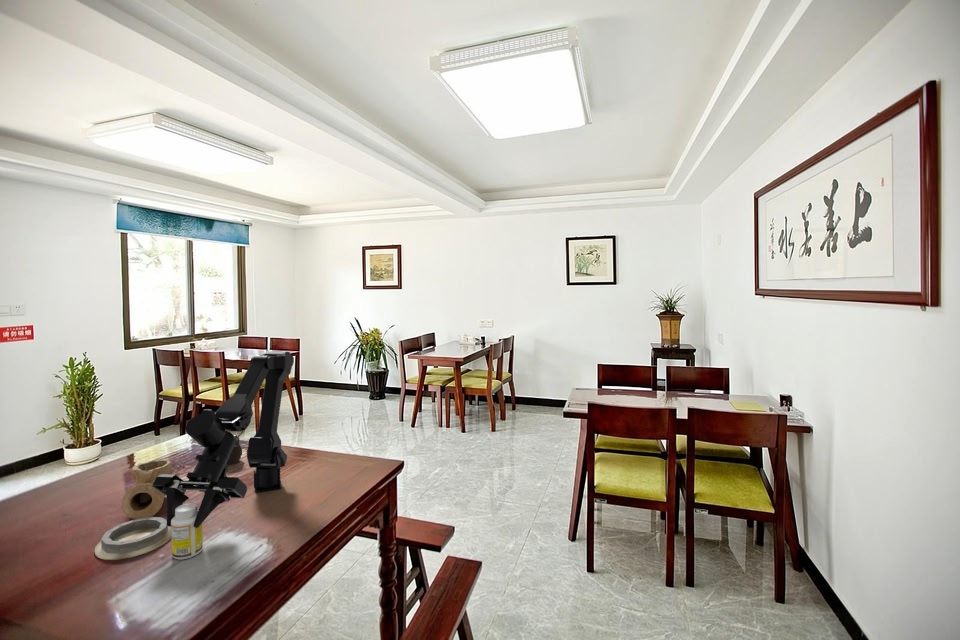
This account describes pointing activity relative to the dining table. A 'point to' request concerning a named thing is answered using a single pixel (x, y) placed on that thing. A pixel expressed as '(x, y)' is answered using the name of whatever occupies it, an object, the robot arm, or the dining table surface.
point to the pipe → (145, 490)
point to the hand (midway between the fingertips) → (182, 526)
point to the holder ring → (133, 538)
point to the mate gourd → (235, 453)
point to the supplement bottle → (186, 532)
